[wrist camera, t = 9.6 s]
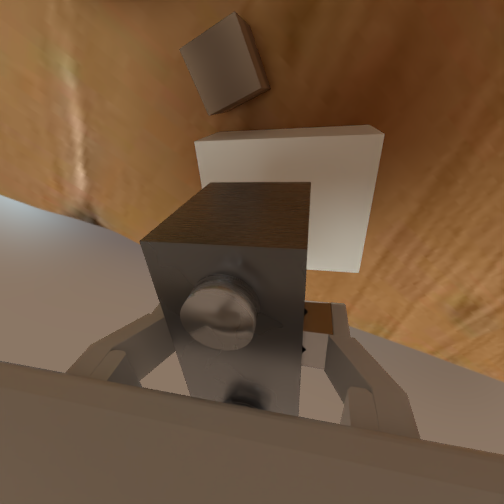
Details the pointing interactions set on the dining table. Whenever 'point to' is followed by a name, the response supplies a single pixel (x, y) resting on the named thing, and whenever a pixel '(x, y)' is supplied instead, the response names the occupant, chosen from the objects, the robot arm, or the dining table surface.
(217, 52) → the walnut block
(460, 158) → the dining table surface
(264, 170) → the stand
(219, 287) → the block
